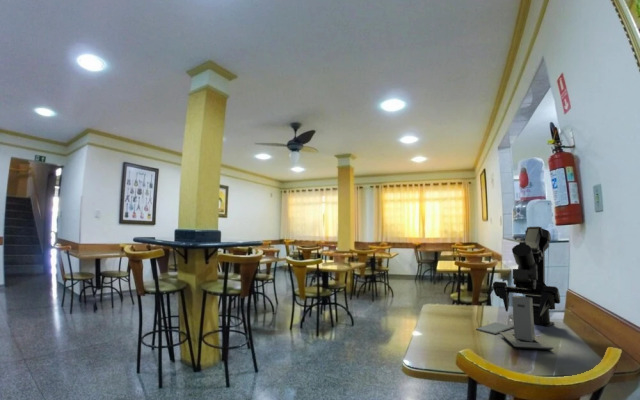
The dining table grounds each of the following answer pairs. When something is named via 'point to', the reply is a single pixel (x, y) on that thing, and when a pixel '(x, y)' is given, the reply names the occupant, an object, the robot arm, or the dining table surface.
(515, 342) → the electrical outlet
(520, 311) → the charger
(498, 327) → the plate
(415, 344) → the dining table surface
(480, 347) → the dining table surface
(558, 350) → the dining table surface
